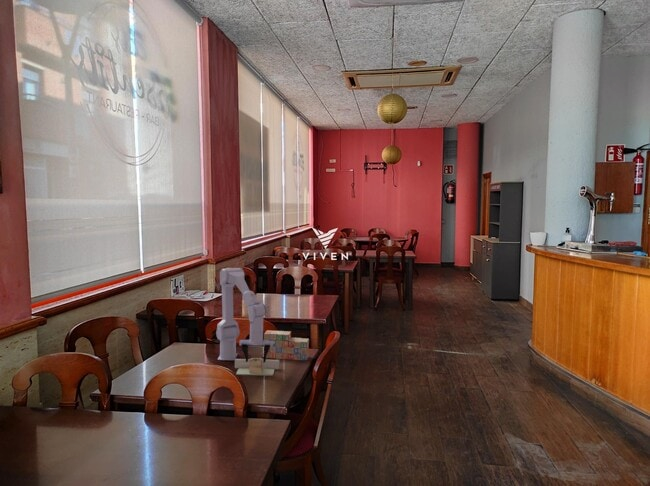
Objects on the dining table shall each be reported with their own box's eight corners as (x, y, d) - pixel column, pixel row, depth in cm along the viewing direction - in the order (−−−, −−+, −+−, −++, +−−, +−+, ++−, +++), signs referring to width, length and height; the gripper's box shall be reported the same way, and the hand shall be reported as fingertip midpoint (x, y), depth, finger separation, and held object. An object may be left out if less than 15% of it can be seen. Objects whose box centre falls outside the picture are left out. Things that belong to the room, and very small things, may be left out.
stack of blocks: (308, 357, 219) (309, 332, 218) (306, 361, 213) (307, 336, 212) (266, 353, 222) (267, 329, 221) (263, 357, 216) (263, 333, 215)
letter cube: (250, 368, 198) (251, 357, 198) (261, 369, 198) (262, 357, 198) (249, 372, 193) (249, 361, 193) (260, 373, 193) (260, 361, 193)
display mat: (238, 369, 199) (238, 368, 199) (274, 369, 199) (274, 368, 199) (236, 374, 192) (236, 373, 192) (273, 375, 192) (273, 374, 192)
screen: (235, 367, 201) (235, 358, 200) (279, 368, 201) (279, 359, 201) (234, 368, 200) (234, 359, 199) (279, 369, 200) (279, 360, 200)
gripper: (238, 333, 190) (237, 364, 191) (272, 334, 190) (271, 365, 191) (241, 328, 197) (240, 358, 198) (273, 329, 197) (272, 359, 198)
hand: (255, 361), depth 195 cm, fingers open, 7 cm apart
